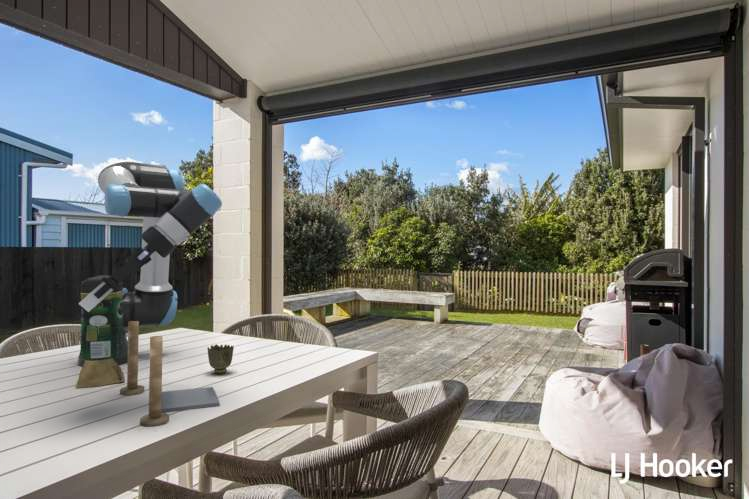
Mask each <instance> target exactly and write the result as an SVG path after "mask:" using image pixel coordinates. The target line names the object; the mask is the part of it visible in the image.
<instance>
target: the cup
mask: <svg viewBox="0 0 749 499" xmlns="http://www.w3.org/2000/svg"><path fill="white" fill-rule="evenodd" d="M234 347H235V345H230V344H224V345H223V344H221V345H218V344H215V345H212V344H211V345H210V347H209V346H208V347H207V357H208V364H209V365H210V367H211V368H213V373H214V374H216V375H224V374H226V373H227V368H228V367H230V366H231V363H232V362H233V356H234Z"/></svg>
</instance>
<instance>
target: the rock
mask: <svg viewBox="0 0 749 499" xmlns="http://www.w3.org/2000/svg"><path fill="white" fill-rule="evenodd" d="M125 381H126V376H125V374H124V372H123V370H122V368H121V366H120V364H117V363H116V362H115V361H114V360H113V359H105V360H102V361H89V360H85V362H84V365H83V366H82V367H81V370H80V372H79V374H78V379H77V382H76V386H75V389H81V388H93V387H100V386H102V387H103V386H107V385H113V384H119V383H120V384H121V383H123V382H124V383H125Z"/></svg>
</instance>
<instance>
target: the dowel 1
mask: <svg viewBox="0 0 749 499" xmlns="http://www.w3.org/2000/svg"><path fill="white" fill-rule="evenodd" d="M139 328H140V327H139V321H130V322H128V327H127V335H128V336H127V340H128V362H127V372H126V373H127V374H126V375H127V378H126V380H127V381H126V386H123V387H121V388H120V389H119V395H121V396H135V395H140V394H143V393H144V392H145V385H139V384H138V382H139V381H138V380H139V379H138V378H139V377H138V376H139V339H140V338H139V336H140V334H139V332H140V329H139Z"/></svg>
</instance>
